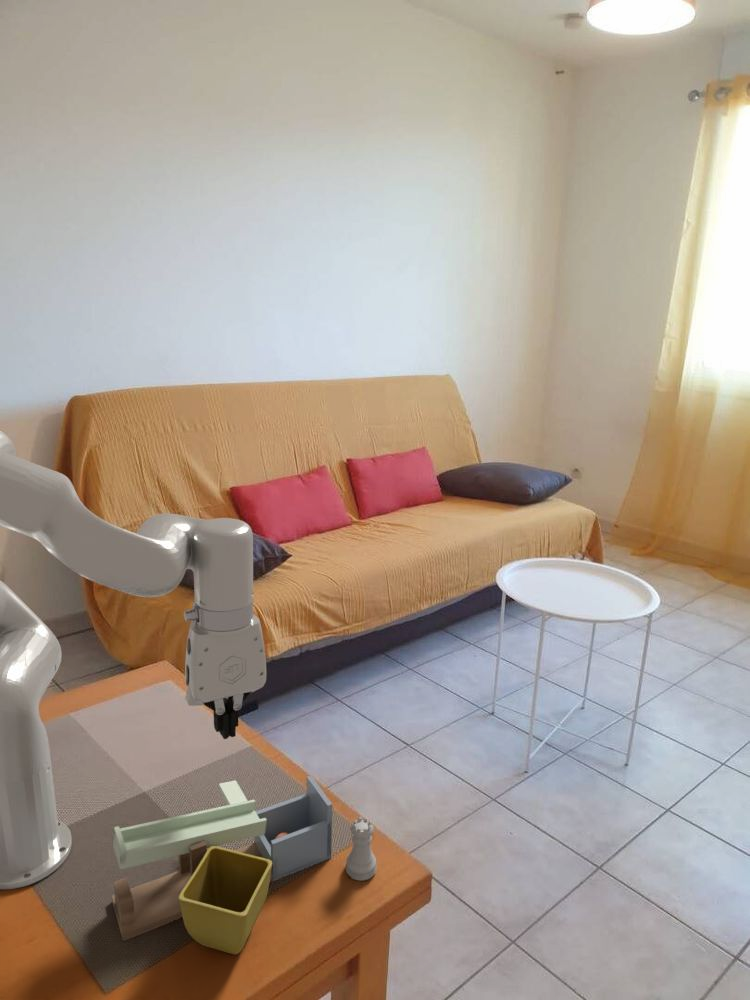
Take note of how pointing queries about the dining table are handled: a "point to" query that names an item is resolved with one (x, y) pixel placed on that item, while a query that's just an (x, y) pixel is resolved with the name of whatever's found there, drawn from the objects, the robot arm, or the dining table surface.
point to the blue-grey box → (297, 831)
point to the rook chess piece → (361, 851)
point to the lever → (189, 830)
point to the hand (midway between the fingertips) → (226, 732)
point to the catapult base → (159, 894)
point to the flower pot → (225, 898)
